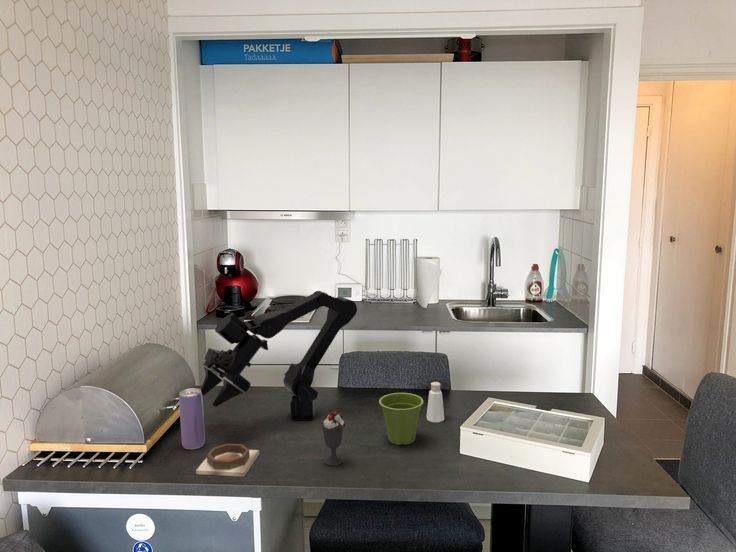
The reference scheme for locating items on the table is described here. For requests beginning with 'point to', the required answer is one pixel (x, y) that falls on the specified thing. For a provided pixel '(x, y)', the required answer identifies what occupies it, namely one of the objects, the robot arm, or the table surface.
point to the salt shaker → (435, 404)
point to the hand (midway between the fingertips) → (206, 400)
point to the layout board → (228, 460)
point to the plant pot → (401, 416)
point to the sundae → (333, 436)
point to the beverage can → (192, 418)
